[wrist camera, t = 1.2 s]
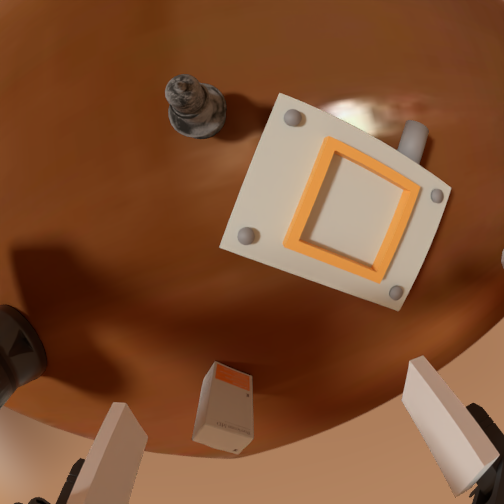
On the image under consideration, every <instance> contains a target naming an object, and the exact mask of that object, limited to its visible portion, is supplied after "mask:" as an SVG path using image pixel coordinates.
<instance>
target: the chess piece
mask: <svg viewBox="0 0 504 504" xmlns="http://www.w3.org/2000/svg"><path fill="white" fill-rule="evenodd" d="M165 96H166V99H167V101H168V102H169V103H170V106H169V110H168V112H169V119H170V122H171V125H172V126H173V127H174V129H175V130H176V131H178V132H179V133H180V134H182V135H185V136H188V137H193V138H197V139H205V138H209V137H211V136H213V135H215V134H216V133H218V132H219V131H220V129H221V128H222V127H223V125H224V123H225V119H226V110H227V109H226V101H225V99H224V96H223V95H222V93H221V92H220V91H219V90H218V89H217V88H215V87H214V86H211V85H209V84H204V83H199V81H198V80H197V79H196V78H195V77H193V76H191V75H188V74H181V75H178V76H175V77H174V78H173V79H171V80H170V81H169V83H168V84H167V86H166V90H165Z"/></svg>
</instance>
